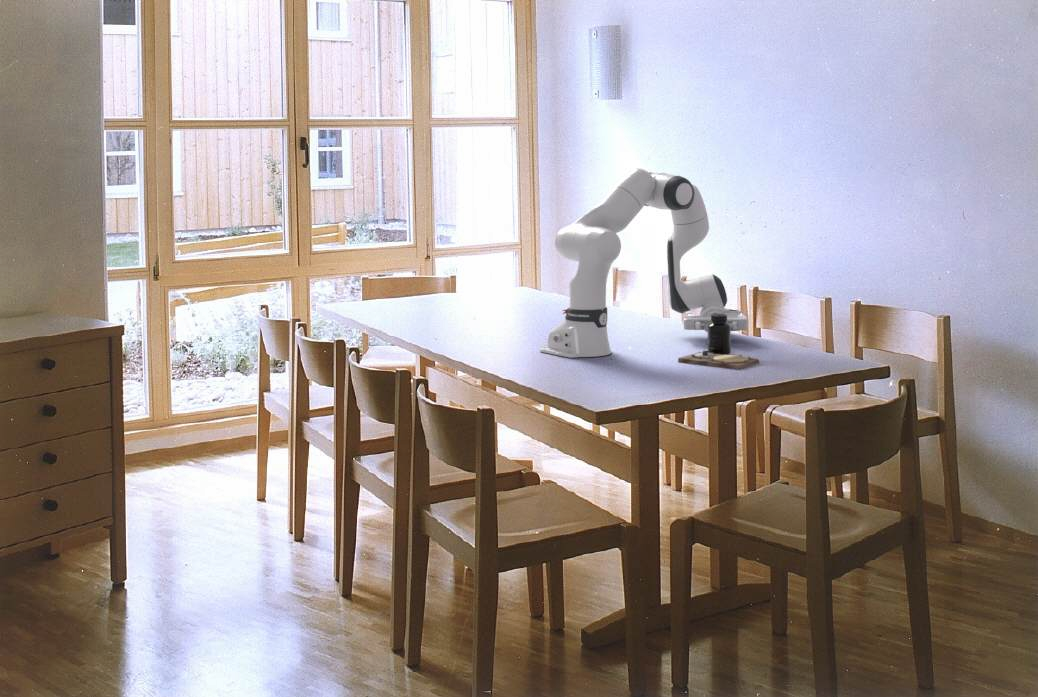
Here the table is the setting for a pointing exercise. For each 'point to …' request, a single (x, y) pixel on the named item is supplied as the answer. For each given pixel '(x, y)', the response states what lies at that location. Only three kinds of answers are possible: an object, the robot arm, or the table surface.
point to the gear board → (719, 360)
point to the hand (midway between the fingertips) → (716, 326)
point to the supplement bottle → (719, 335)
